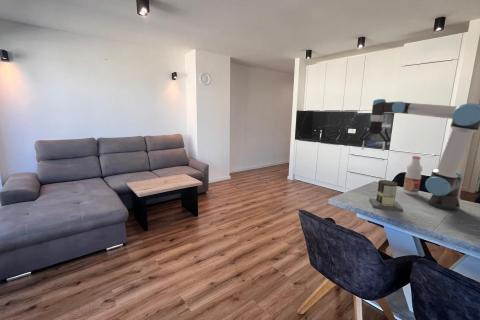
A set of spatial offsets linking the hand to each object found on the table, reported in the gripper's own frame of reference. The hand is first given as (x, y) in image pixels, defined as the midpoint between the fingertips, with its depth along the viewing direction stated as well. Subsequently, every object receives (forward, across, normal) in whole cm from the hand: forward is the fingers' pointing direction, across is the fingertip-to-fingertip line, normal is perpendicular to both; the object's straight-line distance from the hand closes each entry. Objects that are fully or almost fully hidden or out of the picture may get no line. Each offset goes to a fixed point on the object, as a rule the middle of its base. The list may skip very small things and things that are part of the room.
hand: (372, 150), depth 172 cm
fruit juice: (+32, -30, -7) cm, 44 cm away
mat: (+32, -6, +29) cm, 43 cm away
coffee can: (+30, -6, +29) cm, 42 cm away
